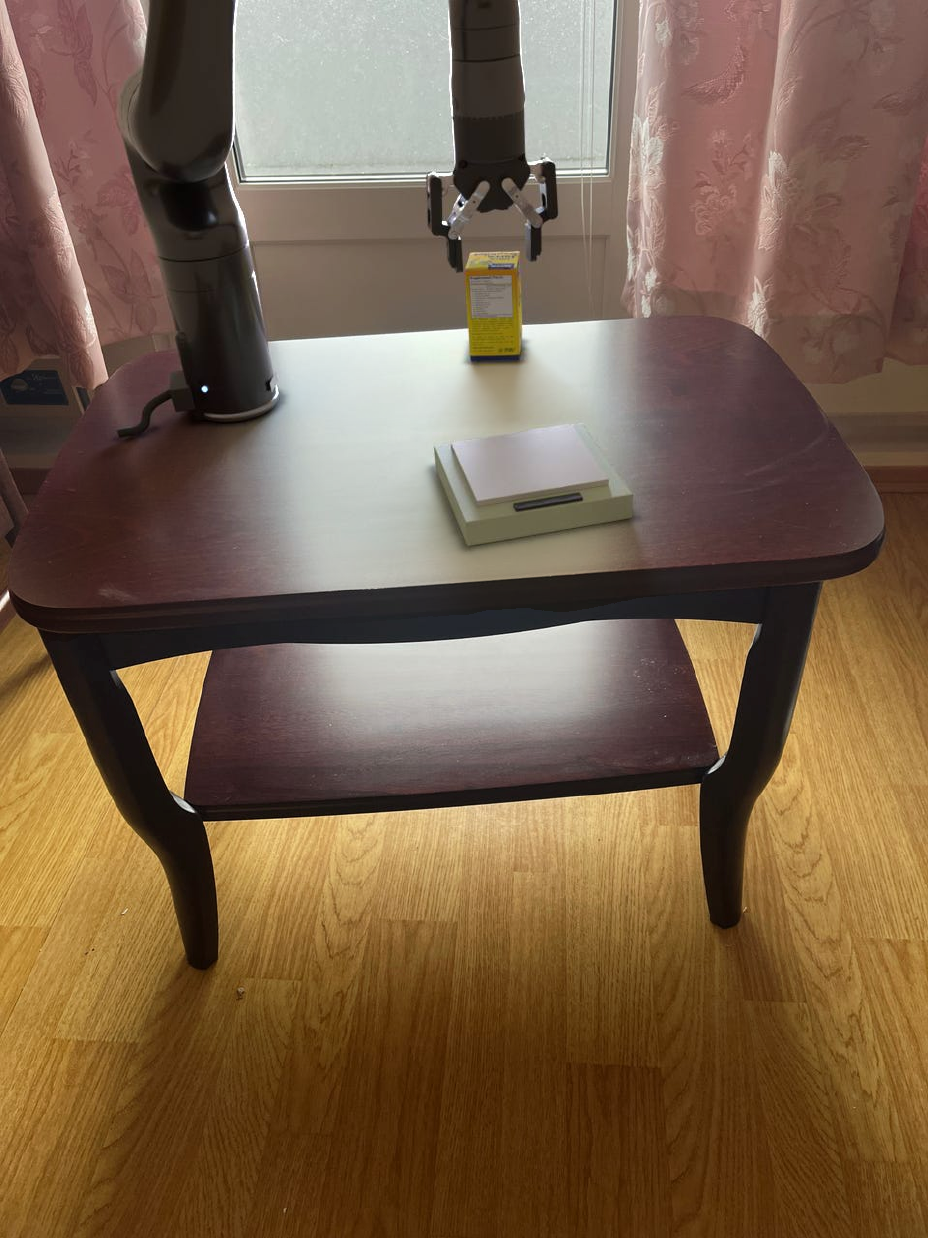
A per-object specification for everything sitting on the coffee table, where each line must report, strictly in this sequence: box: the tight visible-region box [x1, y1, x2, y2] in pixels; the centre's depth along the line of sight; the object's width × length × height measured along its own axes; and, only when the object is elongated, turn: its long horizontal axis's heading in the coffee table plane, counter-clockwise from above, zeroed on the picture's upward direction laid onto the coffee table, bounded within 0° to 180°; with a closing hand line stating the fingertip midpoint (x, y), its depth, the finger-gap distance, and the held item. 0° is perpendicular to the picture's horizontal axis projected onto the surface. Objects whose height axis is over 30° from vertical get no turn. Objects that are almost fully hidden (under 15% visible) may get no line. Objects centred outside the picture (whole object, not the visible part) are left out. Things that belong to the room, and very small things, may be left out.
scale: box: [433, 422, 634, 547], centre depth 88 cm, size 15×14×3 cm
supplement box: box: [464, 251, 523, 362], centre depth 110 cm, size 6×6×11 cm
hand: (494, 265), depth 107 cm, fingers open, 8 cm apart
